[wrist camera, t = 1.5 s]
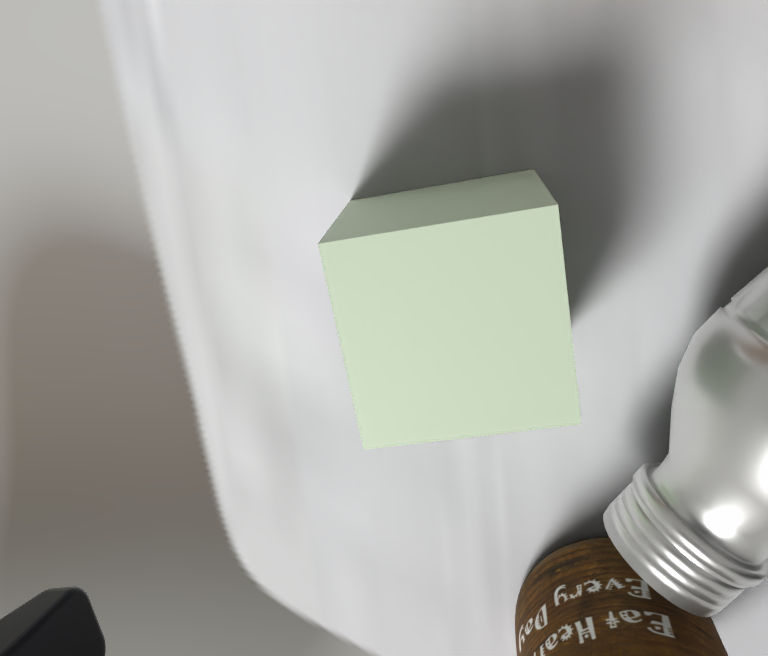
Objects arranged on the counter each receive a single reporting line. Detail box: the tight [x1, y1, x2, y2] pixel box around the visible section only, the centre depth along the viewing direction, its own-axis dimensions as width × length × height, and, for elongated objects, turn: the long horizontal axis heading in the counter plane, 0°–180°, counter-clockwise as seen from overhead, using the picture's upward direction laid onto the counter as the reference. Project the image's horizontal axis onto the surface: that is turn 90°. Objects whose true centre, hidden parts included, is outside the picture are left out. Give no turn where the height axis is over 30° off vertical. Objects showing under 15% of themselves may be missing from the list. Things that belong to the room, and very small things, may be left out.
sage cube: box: [318, 169, 581, 450], centre depth 18 cm, size 5×5×5 cm
